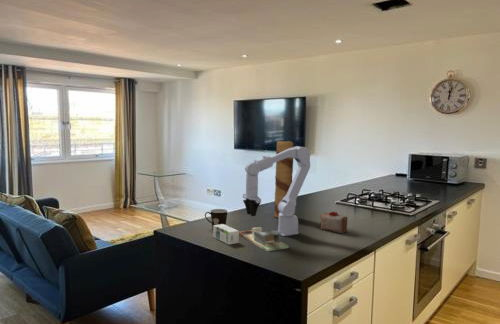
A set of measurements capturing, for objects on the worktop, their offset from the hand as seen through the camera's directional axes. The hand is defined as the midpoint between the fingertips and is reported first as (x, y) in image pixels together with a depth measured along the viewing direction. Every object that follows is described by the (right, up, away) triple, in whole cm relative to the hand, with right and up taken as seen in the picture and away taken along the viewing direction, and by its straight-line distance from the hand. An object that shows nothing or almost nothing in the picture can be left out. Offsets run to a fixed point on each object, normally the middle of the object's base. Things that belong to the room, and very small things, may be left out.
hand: (251, 215), depth 175 cm
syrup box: (-8, -8, -14) cm, 18 cm away
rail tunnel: (+5, -11, -8) cm, 14 cm away
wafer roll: (+19, -7, +39) cm, 44 cm away
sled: (+5, -10, -9) cm, 14 cm away
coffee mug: (-18, -9, +9) cm, 22 cm away
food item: (+43, -10, +12) cm, 45 cm away
